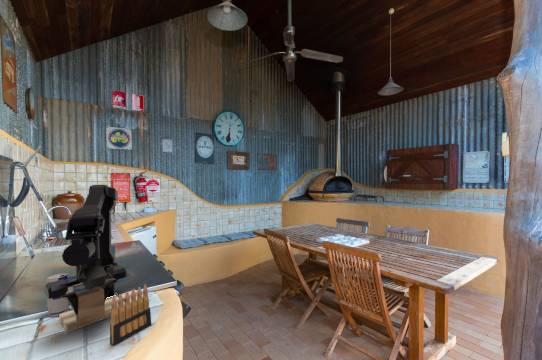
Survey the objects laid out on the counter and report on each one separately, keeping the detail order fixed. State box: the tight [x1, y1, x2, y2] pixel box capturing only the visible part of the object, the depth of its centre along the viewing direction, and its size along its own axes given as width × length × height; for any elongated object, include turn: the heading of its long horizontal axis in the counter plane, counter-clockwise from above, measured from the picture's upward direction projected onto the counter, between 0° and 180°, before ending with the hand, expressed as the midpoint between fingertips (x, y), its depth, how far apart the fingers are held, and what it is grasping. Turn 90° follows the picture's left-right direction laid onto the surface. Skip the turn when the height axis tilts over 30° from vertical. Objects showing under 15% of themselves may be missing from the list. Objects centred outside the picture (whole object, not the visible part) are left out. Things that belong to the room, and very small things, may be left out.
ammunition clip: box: [109, 283, 152, 347], centre depth 71 cm, size 11×2×12 cm, turn 150°
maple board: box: [58, 289, 143, 333], centre depth 84 cm, size 10×22×2 cm, turn 139°
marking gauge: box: [75, 286, 105, 326], centre depth 78 cm, size 13×6×8 cm, turn 49°
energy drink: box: [46, 272, 70, 318], centre depth 84 cm, size 5×5×12 cm
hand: (89, 309), depth 75 cm, fingers closed on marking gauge, 6 cm apart
